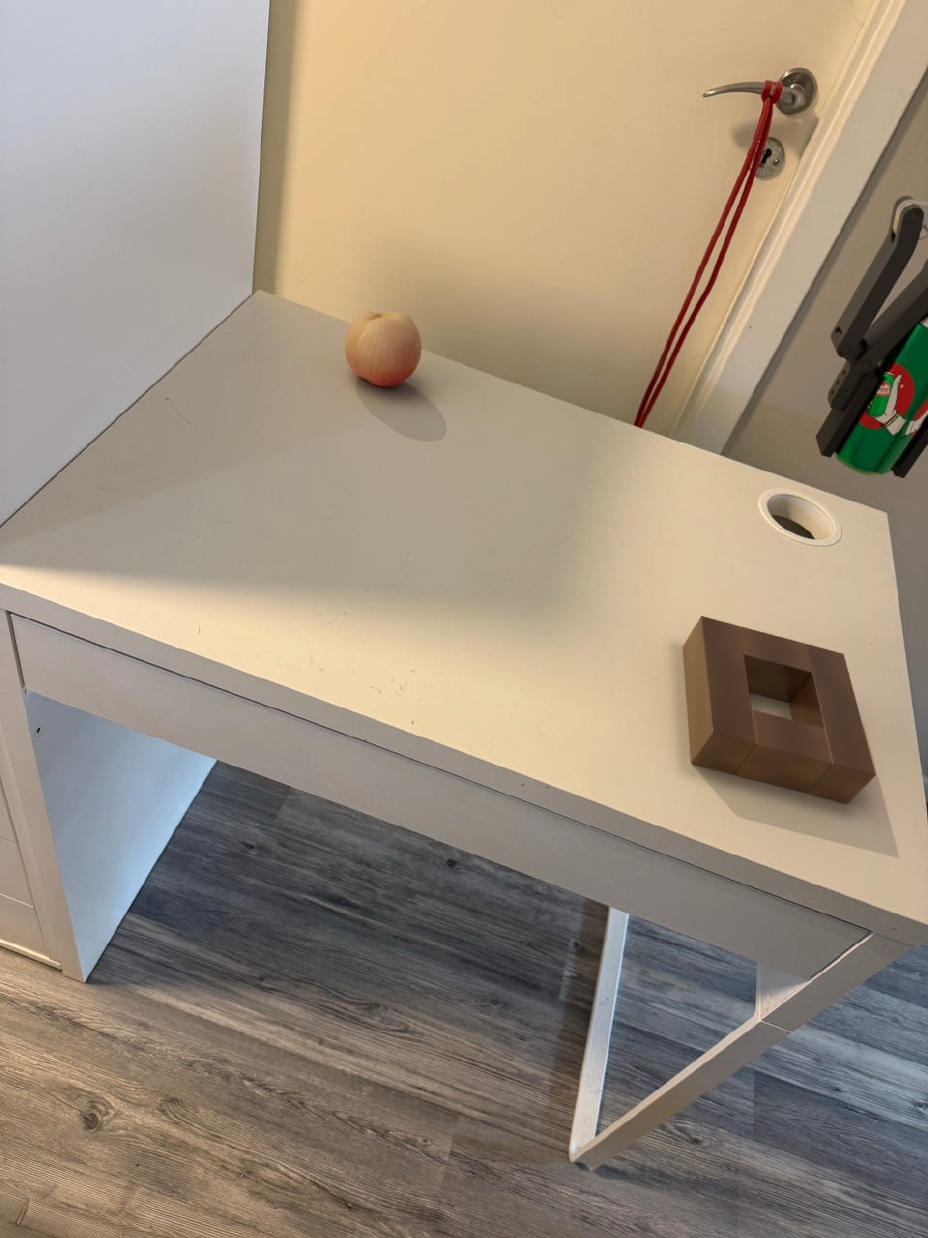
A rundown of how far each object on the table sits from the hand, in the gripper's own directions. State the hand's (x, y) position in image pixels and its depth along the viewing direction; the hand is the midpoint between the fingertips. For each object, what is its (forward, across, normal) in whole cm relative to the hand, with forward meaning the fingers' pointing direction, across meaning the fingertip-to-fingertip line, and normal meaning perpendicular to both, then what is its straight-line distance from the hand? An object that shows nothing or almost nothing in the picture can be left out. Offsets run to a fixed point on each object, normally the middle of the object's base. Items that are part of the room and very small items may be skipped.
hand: (859, 456), depth 64 cm
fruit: (+20, +41, -27) cm, 53 cm away
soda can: (0, 0, 0) cm, 0 cm away
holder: (+20, -1, +10) cm, 22 cm away
